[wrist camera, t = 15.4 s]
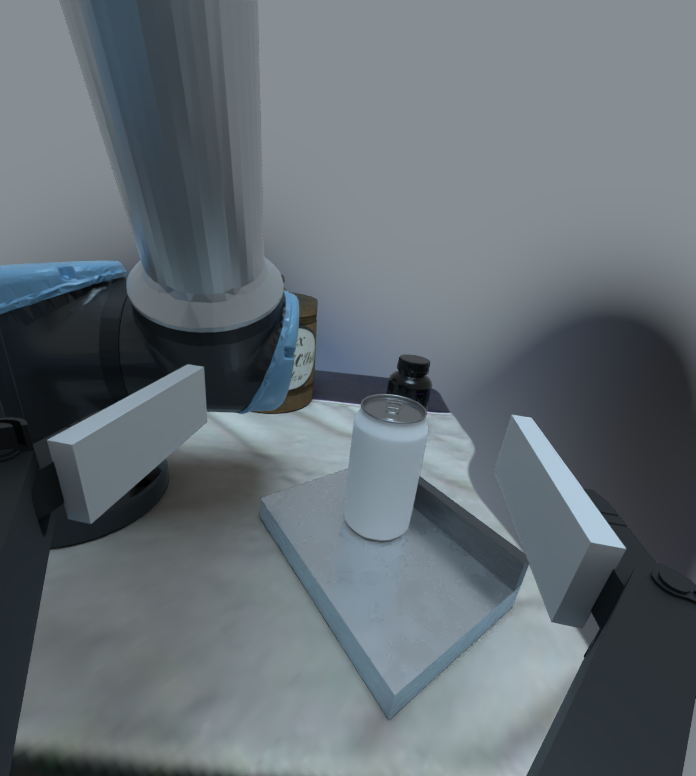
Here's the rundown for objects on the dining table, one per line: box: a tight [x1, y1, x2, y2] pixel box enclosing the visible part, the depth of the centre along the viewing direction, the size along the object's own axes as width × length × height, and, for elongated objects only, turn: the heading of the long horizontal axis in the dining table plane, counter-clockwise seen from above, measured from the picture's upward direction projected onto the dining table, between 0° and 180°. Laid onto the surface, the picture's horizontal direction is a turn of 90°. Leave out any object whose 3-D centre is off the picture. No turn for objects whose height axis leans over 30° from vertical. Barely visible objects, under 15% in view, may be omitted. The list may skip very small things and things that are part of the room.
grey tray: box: [260, 469, 529, 719], centre depth 32 cm, size 20×14×6 cm
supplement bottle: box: [387, 355, 432, 418], centre depth 56 cm, size 7×7×12 cm
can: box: [344, 394, 428, 541], centre depth 32 cm, size 6×6×12 cm
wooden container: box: [254, 275, 317, 413], centre depth 61 cm, size 15×15×22 cm
